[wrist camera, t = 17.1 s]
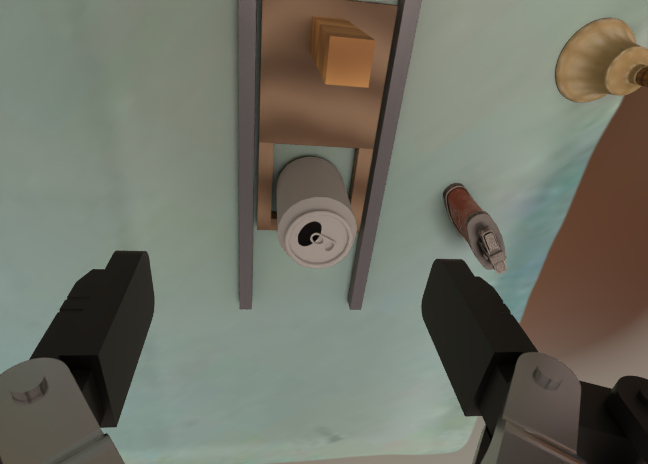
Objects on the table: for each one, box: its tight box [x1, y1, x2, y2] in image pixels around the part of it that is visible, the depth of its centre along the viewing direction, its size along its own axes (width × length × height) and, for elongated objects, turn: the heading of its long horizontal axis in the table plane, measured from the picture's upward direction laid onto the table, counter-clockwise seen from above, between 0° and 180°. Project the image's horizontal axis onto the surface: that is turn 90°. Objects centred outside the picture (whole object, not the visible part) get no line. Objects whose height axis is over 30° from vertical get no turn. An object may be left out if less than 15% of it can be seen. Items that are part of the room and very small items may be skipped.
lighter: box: [443, 183, 507, 274], centre depth 48 cm, size 8×3×10 cm, turn 29°
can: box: [276, 157, 357, 268], centre depth 43 cm, size 8×8×12 cm
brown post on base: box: [257, 0, 398, 233], centre depth 39 cm, size 24×12×14 cm, turn 174°
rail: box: [239, 0, 422, 310], centre depth 46 cm, size 38×16×2 cm, turn 174°
